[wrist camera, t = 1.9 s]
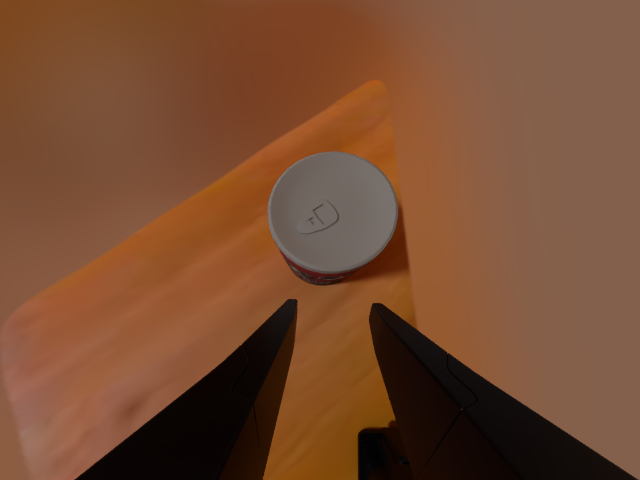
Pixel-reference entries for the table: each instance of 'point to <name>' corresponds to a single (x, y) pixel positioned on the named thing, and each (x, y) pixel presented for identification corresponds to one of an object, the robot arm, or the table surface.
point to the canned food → (331, 216)
